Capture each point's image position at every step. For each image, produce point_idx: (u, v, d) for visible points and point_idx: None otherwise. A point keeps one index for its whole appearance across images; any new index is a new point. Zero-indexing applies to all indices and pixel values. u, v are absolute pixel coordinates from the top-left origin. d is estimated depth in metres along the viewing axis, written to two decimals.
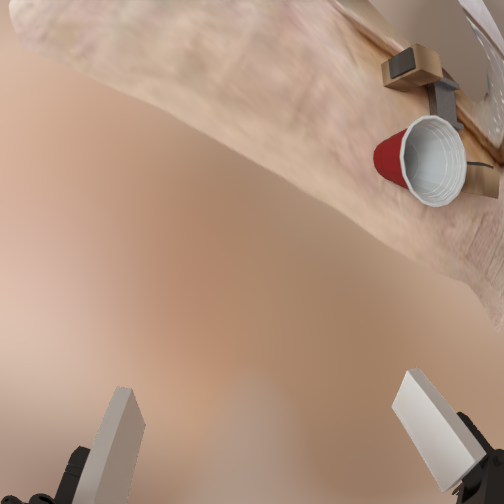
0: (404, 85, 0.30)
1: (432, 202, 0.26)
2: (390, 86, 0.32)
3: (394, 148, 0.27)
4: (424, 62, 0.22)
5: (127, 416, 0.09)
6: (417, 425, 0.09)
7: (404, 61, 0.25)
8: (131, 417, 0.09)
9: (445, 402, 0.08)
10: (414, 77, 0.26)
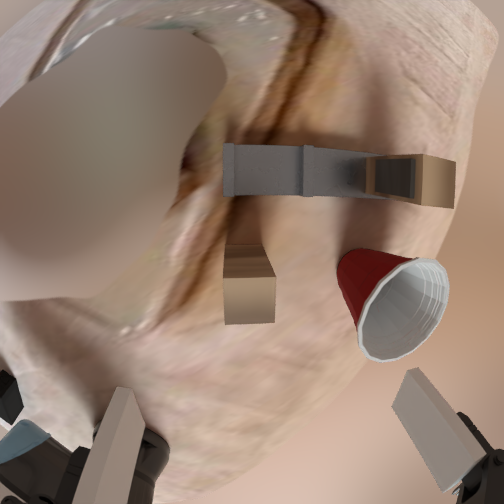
0: None
1: (441, 306, 0.22)
2: None
3: None
4: (258, 314, 0.22)
5: (127, 416, 0.09)
6: (417, 425, 0.09)
7: None
8: (131, 417, 0.09)
9: (445, 402, 0.08)
10: None
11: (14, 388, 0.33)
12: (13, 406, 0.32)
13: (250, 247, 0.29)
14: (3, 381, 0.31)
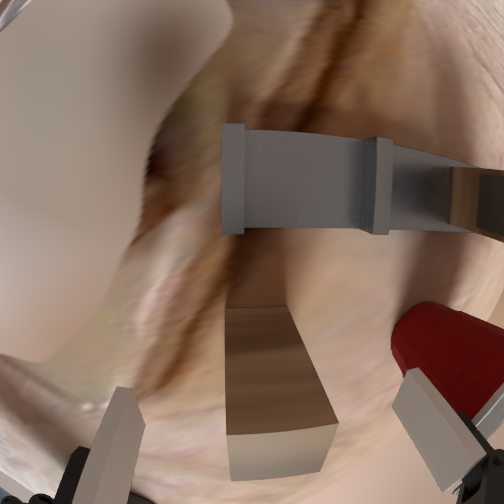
0: None
1: None
2: None
3: None
4: (294, 468, 0.09)
5: (127, 416, 0.09)
6: (417, 425, 0.09)
7: None
8: (131, 417, 0.09)
9: (445, 402, 0.08)
10: None
11: None
12: None
13: (269, 317, 0.16)
14: None
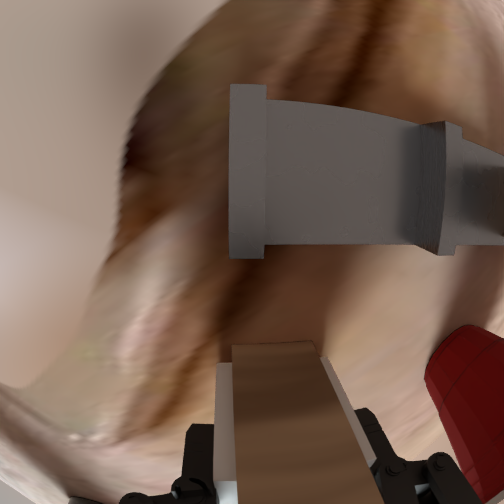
0: None
1: None
2: None
3: None
4: None
5: None
6: None
7: None
8: None
9: (344, 395, 0.10)
10: None
11: None
12: None
13: (291, 359, 0.12)
14: None
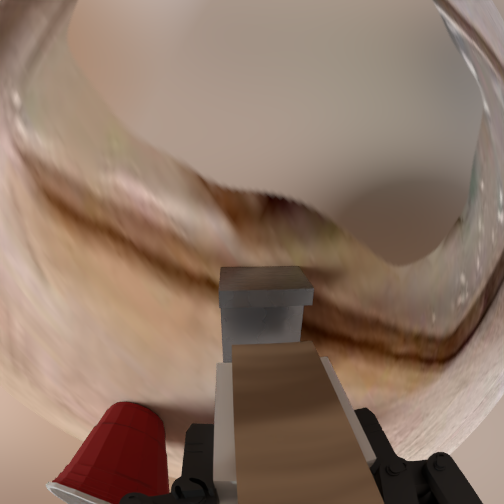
0: None
1: None
2: None
3: None
4: None
5: None
6: None
7: None
8: None
9: (345, 395, 0.10)
10: None
11: None
12: None
13: (291, 359, 0.12)
14: None
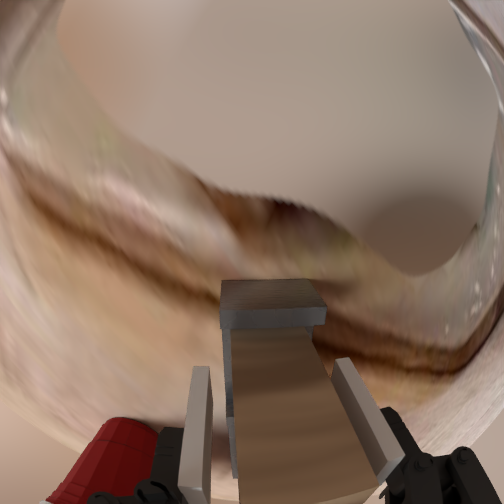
0: None
1: None
2: None
3: None
4: None
5: (208, 392, 0.11)
6: None
7: None
8: (209, 394, 0.11)
9: (369, 395, 0.10)
10: None
11: None
12: None
13: (285, 341, 0.13)
14: None
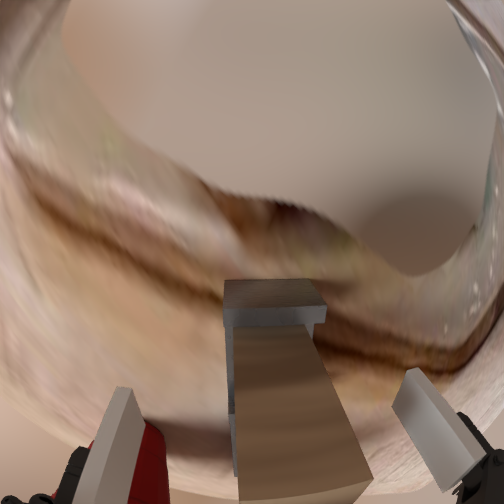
0: None
1: None
2: None
3: None
4: None
5: (127, 416, 0.09)
6: (417, 425, 0.09)
7: None
8: (131, 417, 0.09)
9: (445, 402, 0.08)
10: None
11: None
12: None
13: (285, 339, 0.14)
14: None
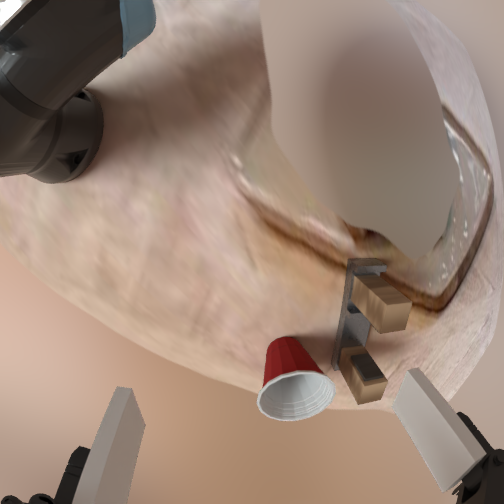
0: None
1: (292, 417, 0.35)
2: None
3: (264, 380, 0.36)
4: (398, 325, 0.30)
5: (127, 416, 0.09)
6: (417, 425, 0.09)
7: None
8: (131, 417, 0.09)
9: (445, 402, 0.08)
10: None
11: None
12: None
13: (373, 278, 0.38)
14: None
